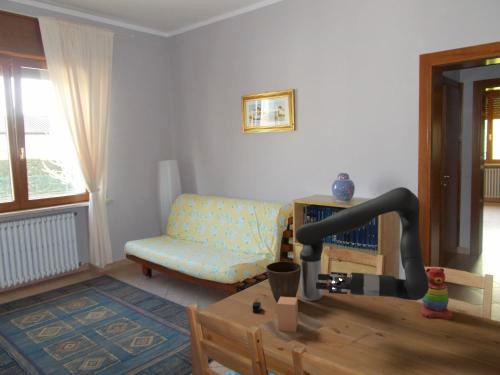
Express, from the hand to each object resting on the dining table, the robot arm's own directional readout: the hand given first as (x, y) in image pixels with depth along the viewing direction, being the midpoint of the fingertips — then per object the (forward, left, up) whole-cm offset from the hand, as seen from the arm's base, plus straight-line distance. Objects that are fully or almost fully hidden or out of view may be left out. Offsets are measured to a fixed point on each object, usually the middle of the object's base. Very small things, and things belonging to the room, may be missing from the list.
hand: (316, 281), depth 136 cm
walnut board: (+5, -8, -19) cm, 21 cm away
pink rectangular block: (+7, -8, -18) cm, 21 cm away
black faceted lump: (+7, -27, -20) cm, 34 cm away
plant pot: (-8, -27, -19) cm, 34 cm away
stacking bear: (-45, +19, -19) cm, 52 cm away
